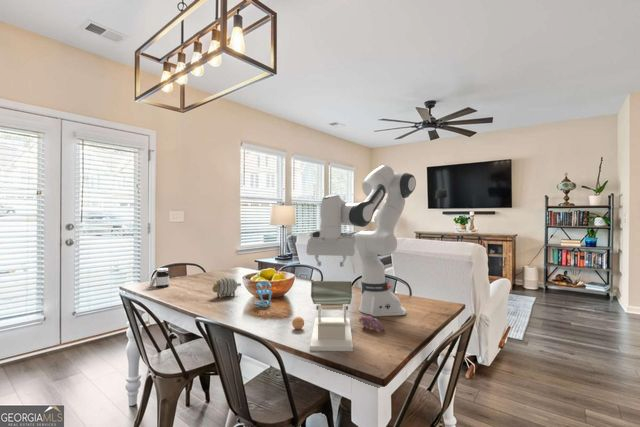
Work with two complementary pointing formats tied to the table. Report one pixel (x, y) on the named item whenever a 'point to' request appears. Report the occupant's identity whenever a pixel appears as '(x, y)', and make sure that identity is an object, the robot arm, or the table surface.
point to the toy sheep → (225, 286)
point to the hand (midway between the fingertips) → (330, 266)
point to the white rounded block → (160, 278)
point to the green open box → (331, 294)
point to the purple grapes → (373, 321)
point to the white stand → (331, 333)
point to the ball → (298, 322)
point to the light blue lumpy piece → (263, 293)
